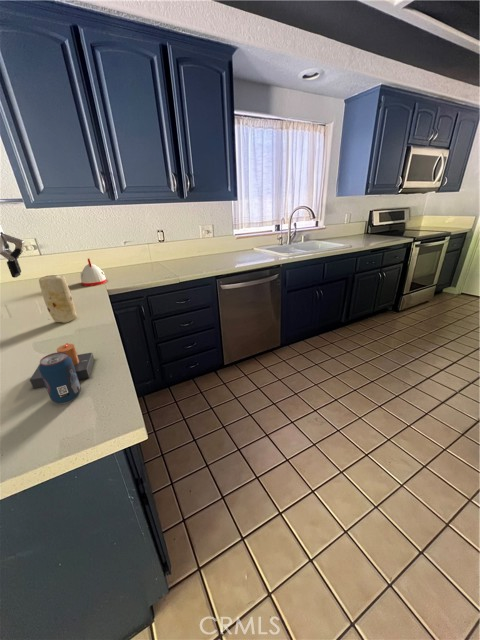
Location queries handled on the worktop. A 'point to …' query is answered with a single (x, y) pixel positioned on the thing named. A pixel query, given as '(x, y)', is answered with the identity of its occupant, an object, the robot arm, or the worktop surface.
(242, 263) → the worktop surface
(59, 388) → the soda can
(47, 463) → the worktop surface
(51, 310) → the food model
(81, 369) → the cooker panel
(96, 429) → the worktop surface
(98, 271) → the kitchen timer
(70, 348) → the knob
